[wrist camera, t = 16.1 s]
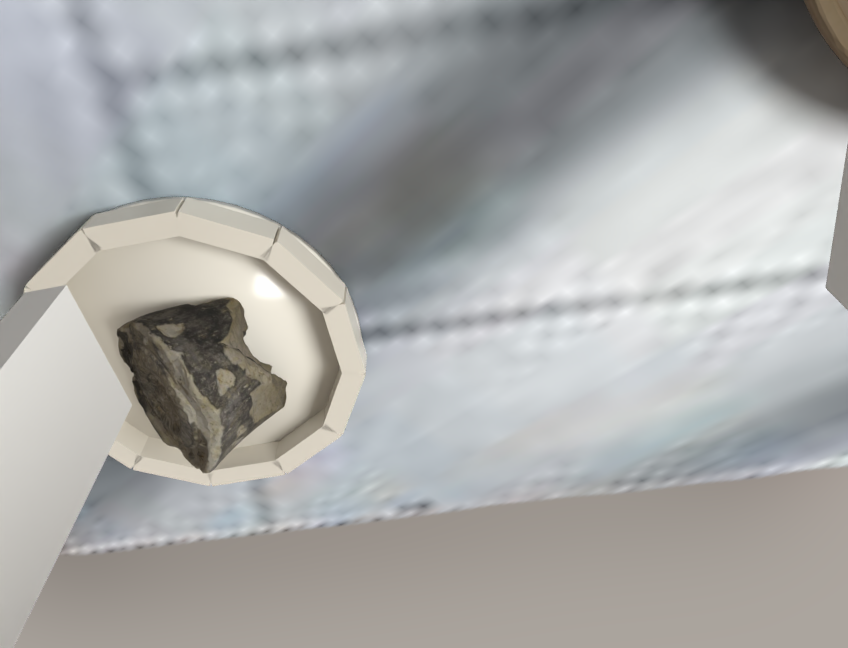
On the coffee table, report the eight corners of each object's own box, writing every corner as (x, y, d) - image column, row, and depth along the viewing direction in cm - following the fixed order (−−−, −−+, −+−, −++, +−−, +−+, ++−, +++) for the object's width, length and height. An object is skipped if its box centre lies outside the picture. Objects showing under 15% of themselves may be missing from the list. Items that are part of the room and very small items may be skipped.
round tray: (-22, 231, 42) (-47, 253, 40) (315, 166, 41) (310, 185, 38) (123, 474, 54) (111, 502, 52) (390, 431, 52) (390, 458, 50)
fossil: (76, 326, 45) (82, 385, 36) (203, 250, 47) (237, 290, 38) (173, 444, 50) (198, 520, 42) (283, 372, 52) (328, 430, 44)
